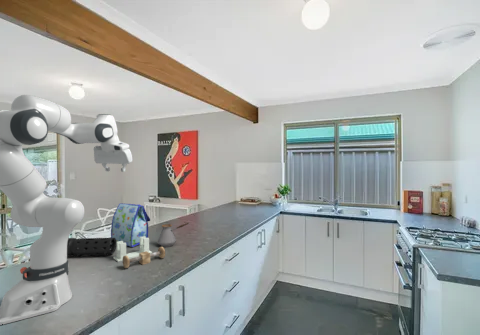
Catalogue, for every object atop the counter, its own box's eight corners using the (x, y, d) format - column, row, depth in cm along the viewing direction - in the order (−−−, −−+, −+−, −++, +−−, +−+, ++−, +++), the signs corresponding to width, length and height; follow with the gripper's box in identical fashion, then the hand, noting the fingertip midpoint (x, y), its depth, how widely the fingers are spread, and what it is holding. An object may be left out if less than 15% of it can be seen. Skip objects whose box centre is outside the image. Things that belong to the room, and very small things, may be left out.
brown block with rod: (127, 269, 123) (127, 257, 123) (122, 266, 127) (122, 254, 127) (165, 259, 137) (165, 248, 137) (160, 256, 142) (160, 245, 142)
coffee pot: (154, 247, 157) (153, 223, 158) (163, 242, 169) (162, 219, 169) (186, 249, 154) (185, 224, 154) (193, 243, 165) (192, 220, 165)
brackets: (118, 261, 134) (117, 244, 134) (113, 258, 139) (113, 242, 139) (152, 253, 147) (151, 237, 147) (146, 250, 152) (146, 235, 152)
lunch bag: (152, 241, 170) (151, 203, 171) (131, 248, 156) (131, 206, 156) (130, 237, 181) (129, 201, 181) (108, 243, 166) (108, 204, 166)
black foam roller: (109, 258, 140) (109, 239, 140) (57, 259, 138) (57, 240, 138) (116, 252, 149) (116, 235, 149) (68, 253, 148) (68, 236, 148)
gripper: (88, 147, 128) (94, 172, 132) (124, 147, 125) (129, 173, 129) (97, 144, 134) (102, 169, 138) (132, 144, 131) (136, 169, 135)
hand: (115, 171), depth 133 cm, fingers open, 8 cm apart
